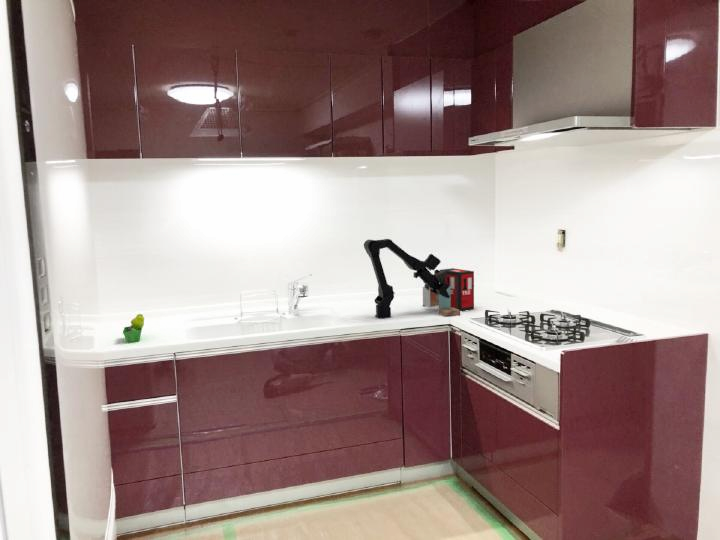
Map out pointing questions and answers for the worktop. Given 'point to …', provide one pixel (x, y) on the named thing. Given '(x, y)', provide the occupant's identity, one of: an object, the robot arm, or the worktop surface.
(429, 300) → the small box
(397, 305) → the worktop surface
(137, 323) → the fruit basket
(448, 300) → the teal block
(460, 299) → the cleaning product box
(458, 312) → the walnut slab
